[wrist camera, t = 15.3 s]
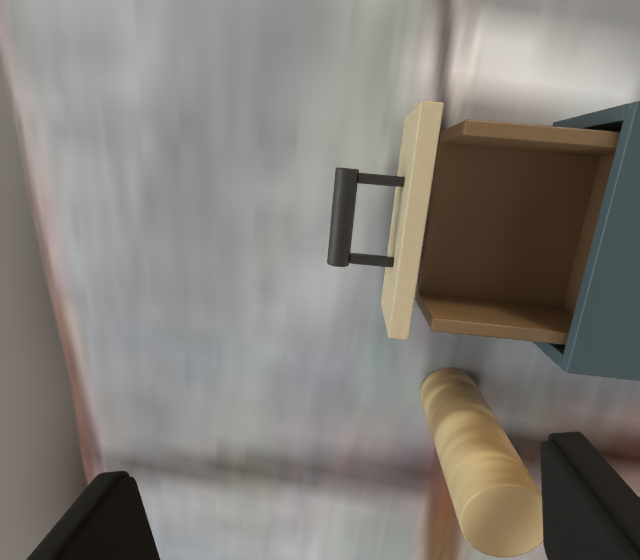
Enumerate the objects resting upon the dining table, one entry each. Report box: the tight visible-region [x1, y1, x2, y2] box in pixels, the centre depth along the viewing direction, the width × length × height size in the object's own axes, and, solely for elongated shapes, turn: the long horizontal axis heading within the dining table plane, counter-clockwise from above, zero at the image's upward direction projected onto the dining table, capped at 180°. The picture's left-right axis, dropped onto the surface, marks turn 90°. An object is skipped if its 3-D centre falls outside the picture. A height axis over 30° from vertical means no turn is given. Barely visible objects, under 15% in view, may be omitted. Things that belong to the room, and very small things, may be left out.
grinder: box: [420, 368, 543, 557], centre depth 28 cm, size 5×5×13 cm
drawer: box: [327, 101, 620, 345], centre depth 26 cm, size 18×13×7 cm
